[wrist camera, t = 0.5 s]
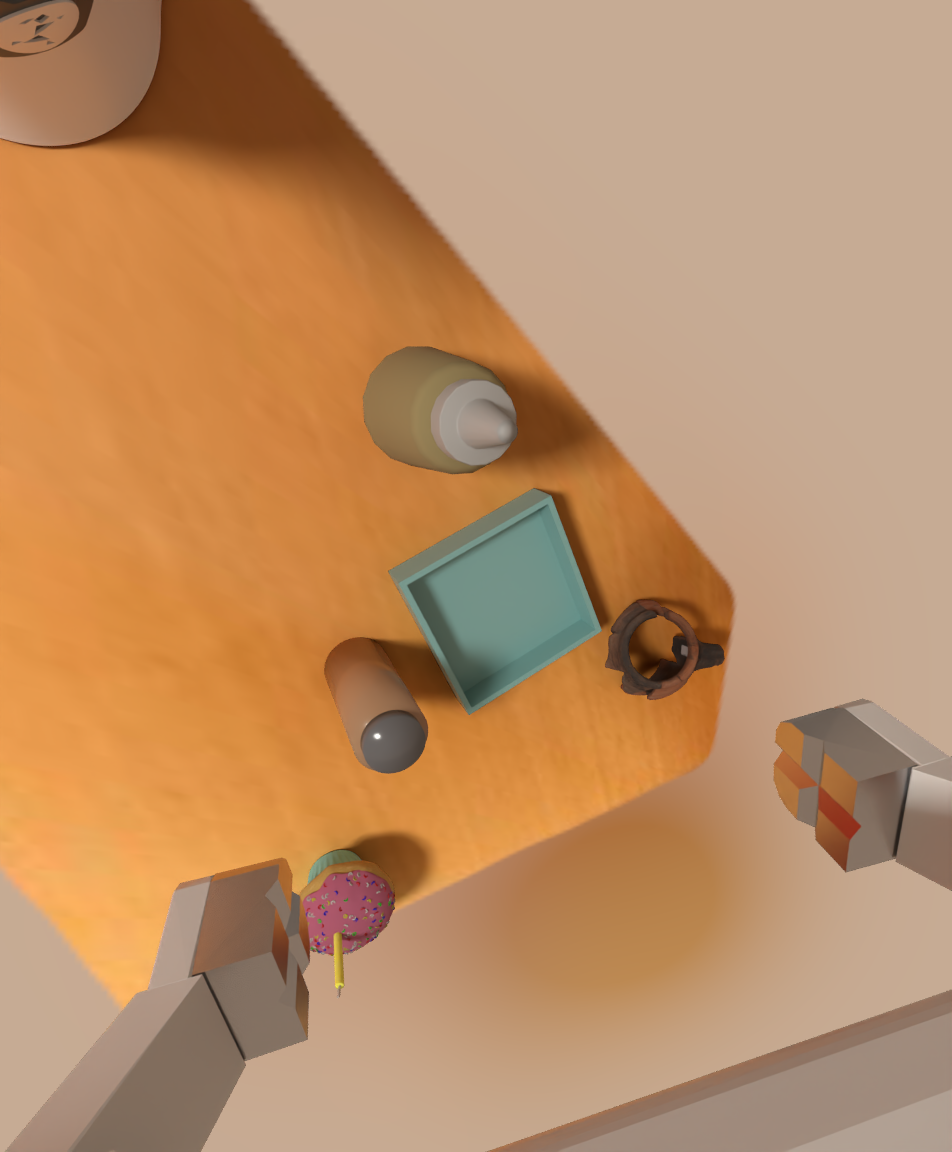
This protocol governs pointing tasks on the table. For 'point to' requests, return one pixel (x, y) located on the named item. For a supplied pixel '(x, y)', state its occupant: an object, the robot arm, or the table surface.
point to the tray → (499, 599)
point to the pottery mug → (668, 673)
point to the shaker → (375, 706)
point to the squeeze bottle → (438, 411)
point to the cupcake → (345, 905)
